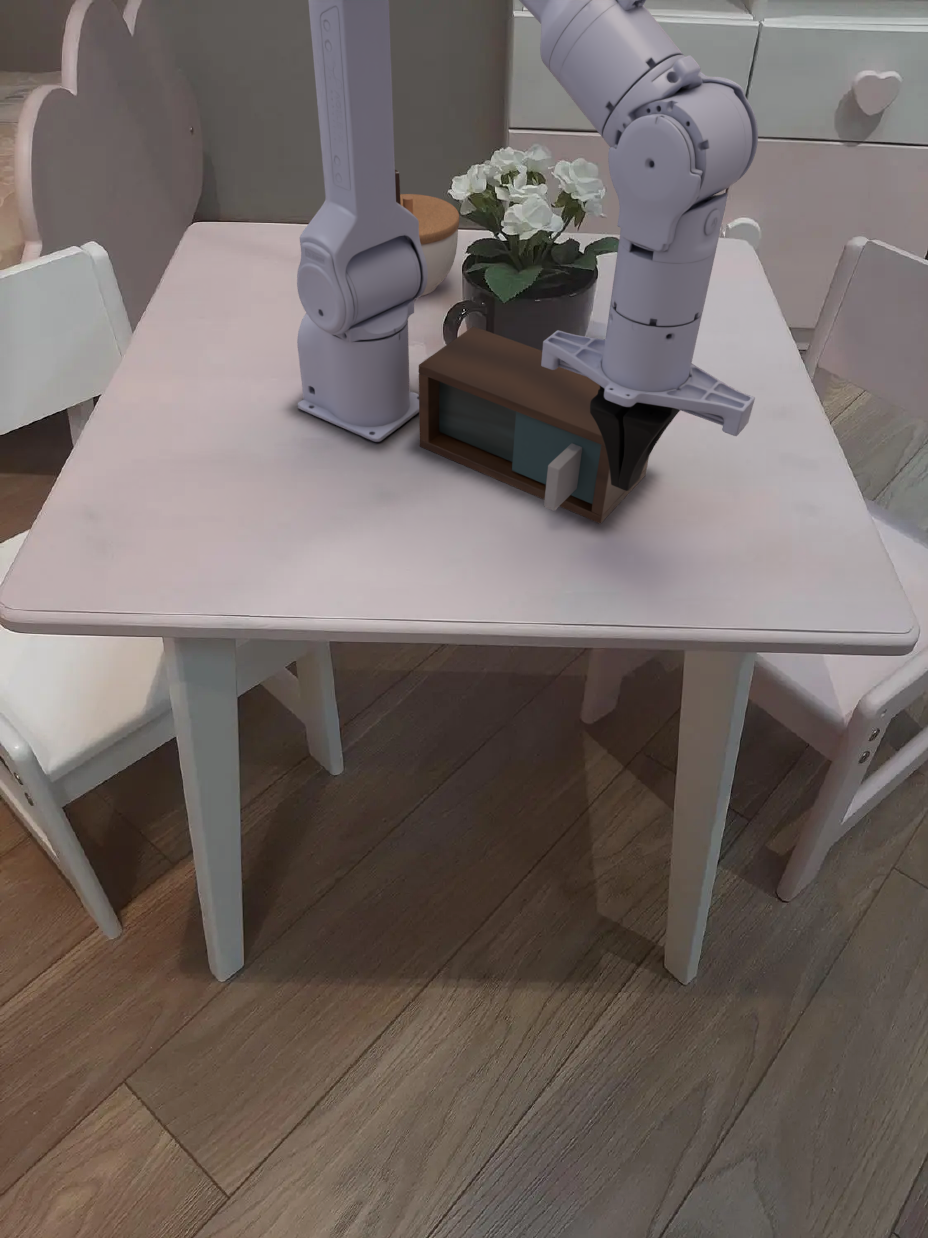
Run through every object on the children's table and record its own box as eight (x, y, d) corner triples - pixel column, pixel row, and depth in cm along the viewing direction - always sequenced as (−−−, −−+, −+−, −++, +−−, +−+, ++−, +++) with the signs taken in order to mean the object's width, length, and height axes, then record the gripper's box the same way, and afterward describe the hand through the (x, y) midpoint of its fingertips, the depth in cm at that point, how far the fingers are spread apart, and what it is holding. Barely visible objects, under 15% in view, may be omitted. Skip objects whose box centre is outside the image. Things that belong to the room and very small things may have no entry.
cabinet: (600, 524, 75) (614, 440, 69) (419, 446, 82) (418, 364, 76) (645, 475, 80) (662, 393, 74) (470, 405, 87) (473, 325, 81)
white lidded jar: (469, 270, 106) (471, 184, 99) (442, 314, 99) (442, 224, 92) (379, 257, 108) (375, 172, 101) (346, 299, 100) (340, 210, 94)
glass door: (570, 528, 73) (578, 467, 69) (487, 492, 76) (491, 431, 72) (594, 502, 75) (604, 442, 71) (513, 468, 78) (518, 408, 74)
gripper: (523, 296, 59) (511, 472, 68) (740, 368, 53) (694, 549, 63) (579, 256, 63) (560, 428, 72) (786, 319, 57) (735, 496, 67)
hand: (625, 481), depth 68 cm, fingers closed
